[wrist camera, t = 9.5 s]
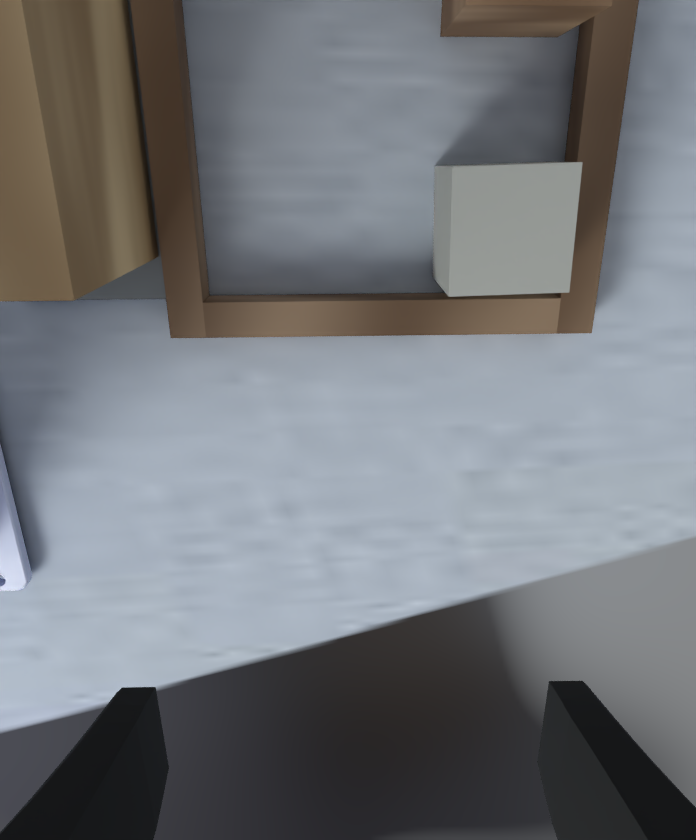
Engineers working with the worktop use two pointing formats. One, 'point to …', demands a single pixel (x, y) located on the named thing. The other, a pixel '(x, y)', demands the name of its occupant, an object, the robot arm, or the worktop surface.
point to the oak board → (70, 150)
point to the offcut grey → (505, 227)
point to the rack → (373, 313)
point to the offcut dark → (516, 17)
